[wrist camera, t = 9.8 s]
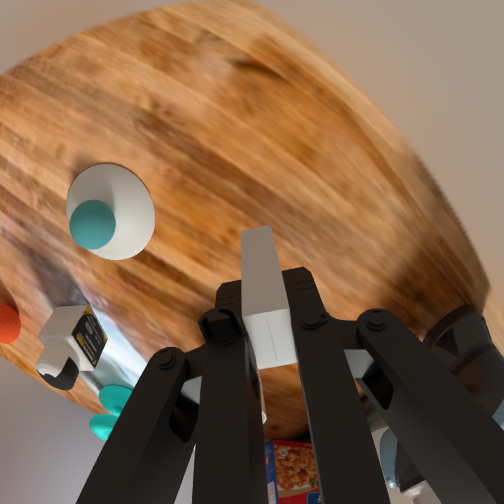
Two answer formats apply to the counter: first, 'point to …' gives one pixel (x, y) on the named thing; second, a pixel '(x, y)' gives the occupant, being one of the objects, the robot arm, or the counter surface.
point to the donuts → (109, 409)
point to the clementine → (9, 324)
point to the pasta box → (291, 473)
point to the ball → (92, 224)
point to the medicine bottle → (70, 345)
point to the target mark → (117, 207)
